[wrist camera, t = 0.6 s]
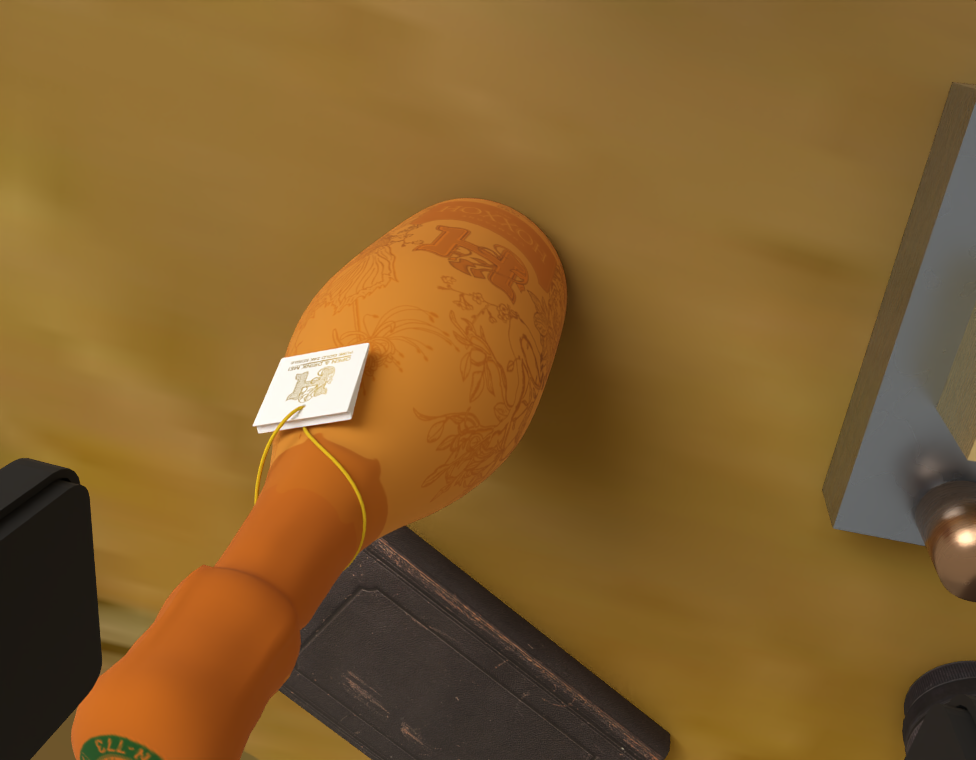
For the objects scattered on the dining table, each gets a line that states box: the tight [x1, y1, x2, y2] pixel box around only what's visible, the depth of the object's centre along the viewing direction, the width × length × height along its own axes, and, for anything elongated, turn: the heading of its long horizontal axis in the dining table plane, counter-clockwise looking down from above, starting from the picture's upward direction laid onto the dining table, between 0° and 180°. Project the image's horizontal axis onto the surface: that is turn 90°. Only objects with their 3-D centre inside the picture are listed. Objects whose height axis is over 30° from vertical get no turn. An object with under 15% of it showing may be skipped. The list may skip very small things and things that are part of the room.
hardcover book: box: [279, 526, 670, 760], centre depth 54 cm, size 16×23×2 cm
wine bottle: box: [71, 198, 567, 760], centre depth 29 cm, size 10×10×30 cm
